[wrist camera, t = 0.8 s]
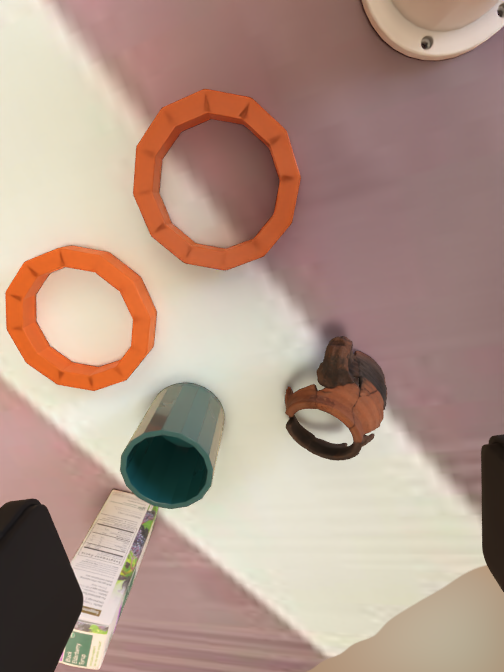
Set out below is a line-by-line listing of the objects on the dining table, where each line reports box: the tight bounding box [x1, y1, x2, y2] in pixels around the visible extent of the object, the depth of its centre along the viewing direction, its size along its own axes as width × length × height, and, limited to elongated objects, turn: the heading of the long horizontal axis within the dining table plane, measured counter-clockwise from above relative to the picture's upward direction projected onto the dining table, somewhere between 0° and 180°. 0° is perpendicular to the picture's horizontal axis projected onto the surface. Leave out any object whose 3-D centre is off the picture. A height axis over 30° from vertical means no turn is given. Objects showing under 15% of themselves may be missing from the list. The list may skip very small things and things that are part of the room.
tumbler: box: [120, 383, 224, 509], centre depth 37 cm, size 8×8×9 cm
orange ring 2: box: [133, 89, 301, 270], centre depth 33 cm, size 13×13×2 cm
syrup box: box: [59, 489, 158, 670], centre depth 39 cm, size 6×6×14 cm
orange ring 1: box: [5, 246, 157, 391], centre depth 37 cm, size 13×13×2 cm
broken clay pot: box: [285, 336, 387, 460], centre depth 37 cm, size 12×9×8 cm
